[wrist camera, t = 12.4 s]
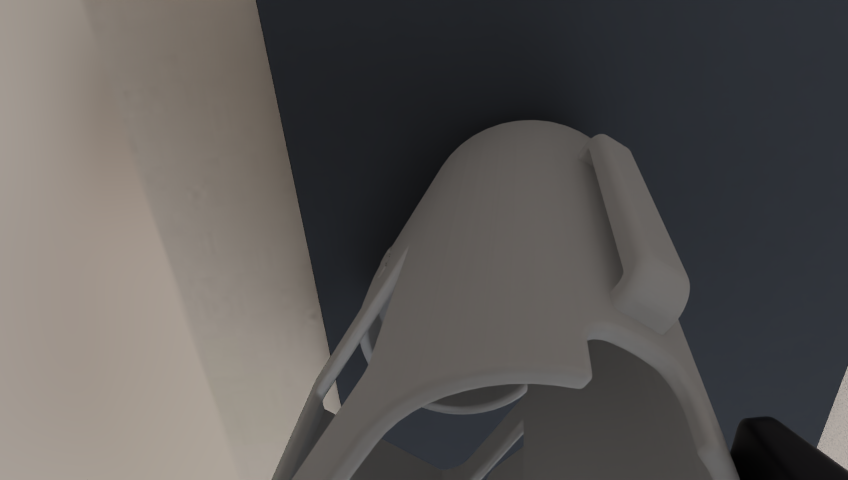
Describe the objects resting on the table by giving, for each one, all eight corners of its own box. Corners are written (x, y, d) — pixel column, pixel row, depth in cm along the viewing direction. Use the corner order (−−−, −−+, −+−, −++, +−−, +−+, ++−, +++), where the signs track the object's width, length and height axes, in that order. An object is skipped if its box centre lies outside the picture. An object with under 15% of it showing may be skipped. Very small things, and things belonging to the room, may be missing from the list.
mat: (368, 522, 30) (367, 534, 30) (257, -13, 17) (253, -9, 17) (791, 484, 30) (798, 495, 30) (999, -81, 17) (1017, -79, 17)
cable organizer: (324, 345, 23) (161, 701, 13) (511, 44, 18) (495, 234, 7) (480, 428, 24) (447, 829, 14) (705, 165, 19) (949, 498, 8)
